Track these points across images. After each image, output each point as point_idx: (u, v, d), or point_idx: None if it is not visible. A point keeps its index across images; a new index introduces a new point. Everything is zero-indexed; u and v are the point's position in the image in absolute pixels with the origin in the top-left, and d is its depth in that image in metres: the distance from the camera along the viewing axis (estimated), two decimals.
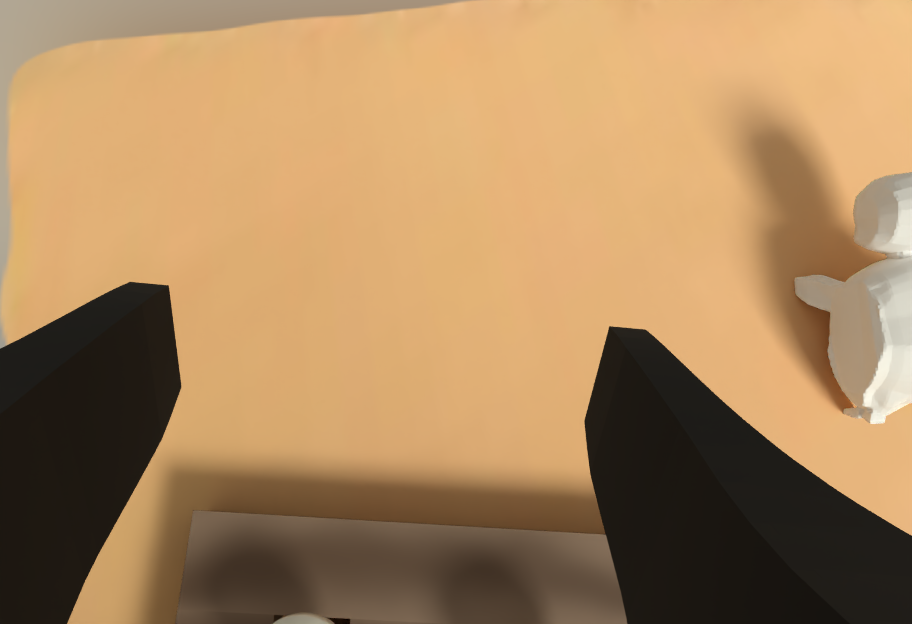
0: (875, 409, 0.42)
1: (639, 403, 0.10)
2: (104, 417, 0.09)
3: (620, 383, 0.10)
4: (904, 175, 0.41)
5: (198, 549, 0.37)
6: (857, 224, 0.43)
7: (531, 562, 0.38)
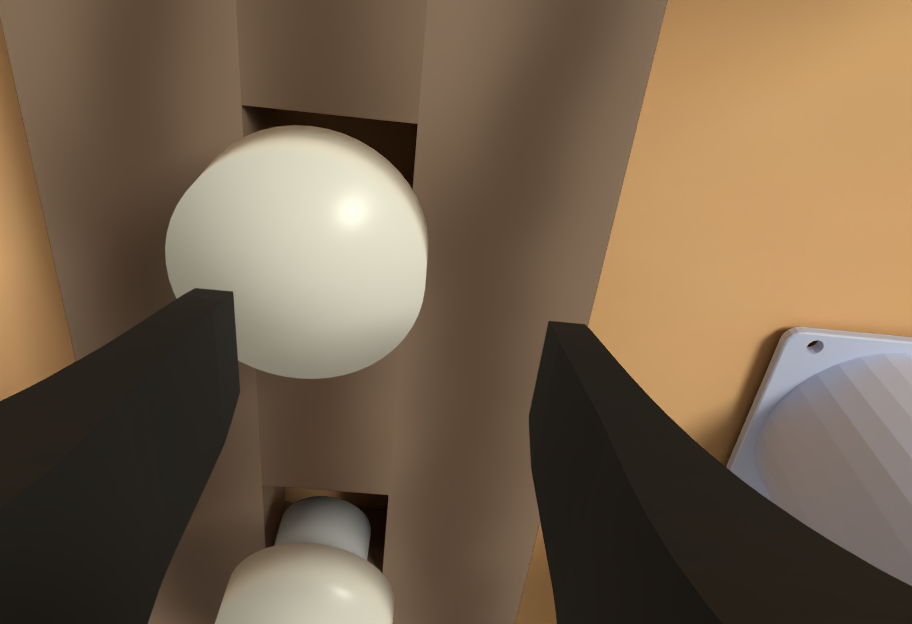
0: None
1: (568, 397, 0.10)
2: (179, 423, 0.09)
3: (554, 377, 0.10)
4: None
5: None
6: None
7: (108, 190, 0.17)
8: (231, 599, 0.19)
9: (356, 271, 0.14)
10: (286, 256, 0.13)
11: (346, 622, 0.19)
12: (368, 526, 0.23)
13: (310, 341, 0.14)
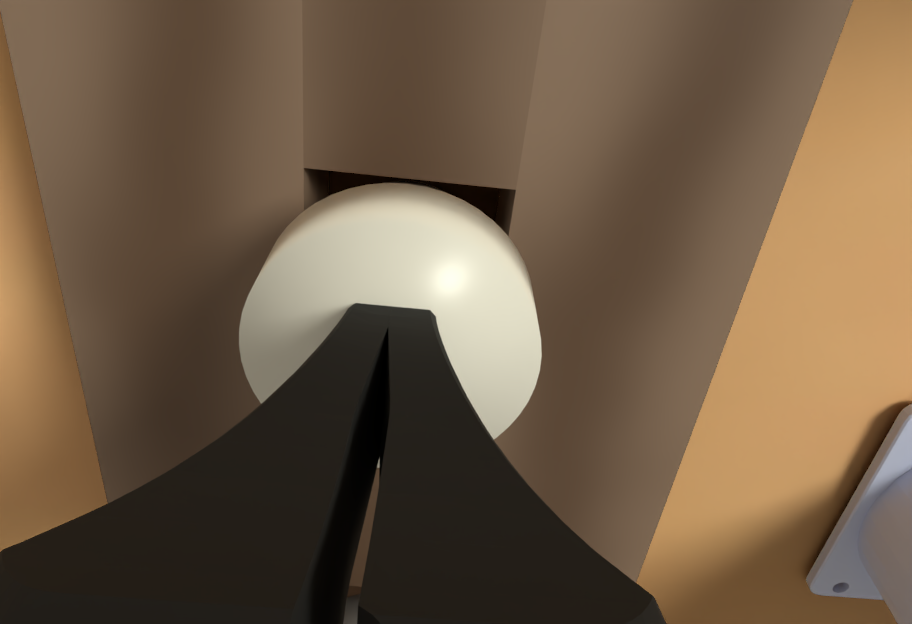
0: None
1: (386, 381, 0.10)
2: (366, 438, 0.10)
3: (386, 363, 0.10)
4: None
5: None
6: None
7: (140, 265, 0.14)
8: None
9: (461, 354, 0.12)
10: None
11: None
12: None
13: None
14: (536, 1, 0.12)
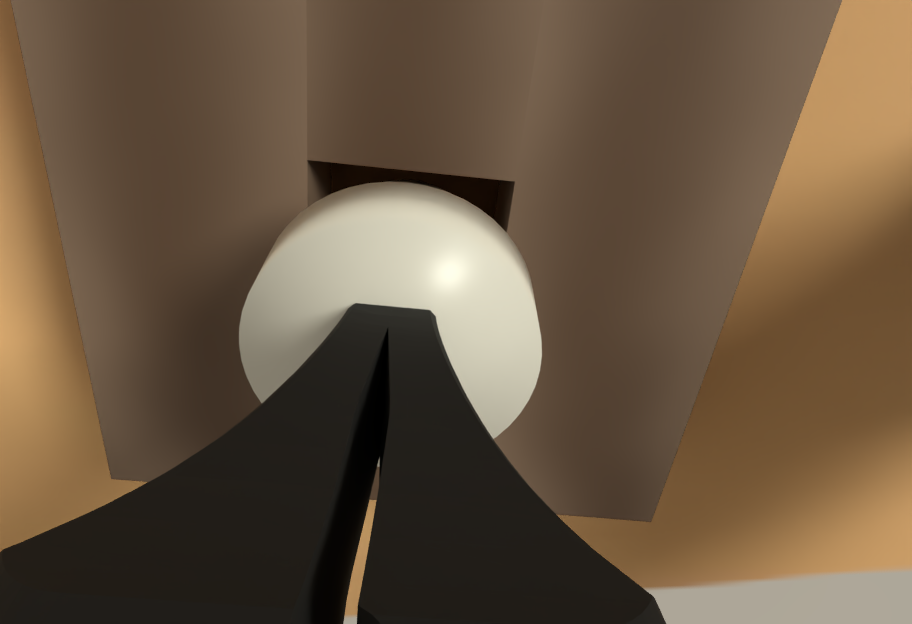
0: None
1: (386, 381, 0.10)
2: (366, 438, 0.10)
3: (386, 363, 0.10)
4: None
5: None
6: None
7: None
8: (272, 257, 0.11)
9: None
10: None
11: (472, 304, 0.11)
12: None
13: None
14: None
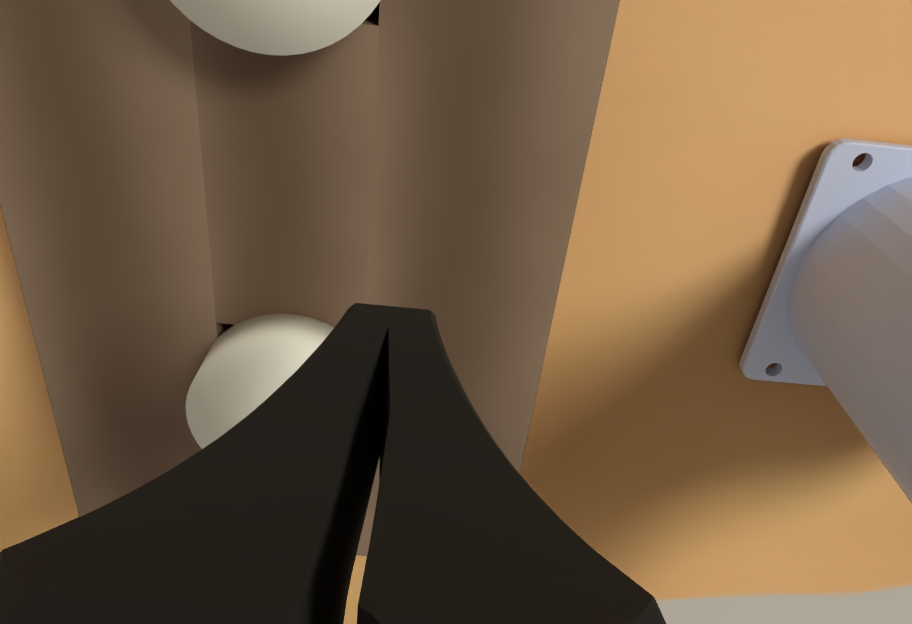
0: None
1: (386, 381, 0.10)
2: (367, 439, 0.10)
3: (386, 363, 0.10)
4: None
5: None
6: None
7: None
8: (204, 364, 0.18)
9: None
10: None
11: None
12: None
13: (280, 2, 0.13)
14: None
